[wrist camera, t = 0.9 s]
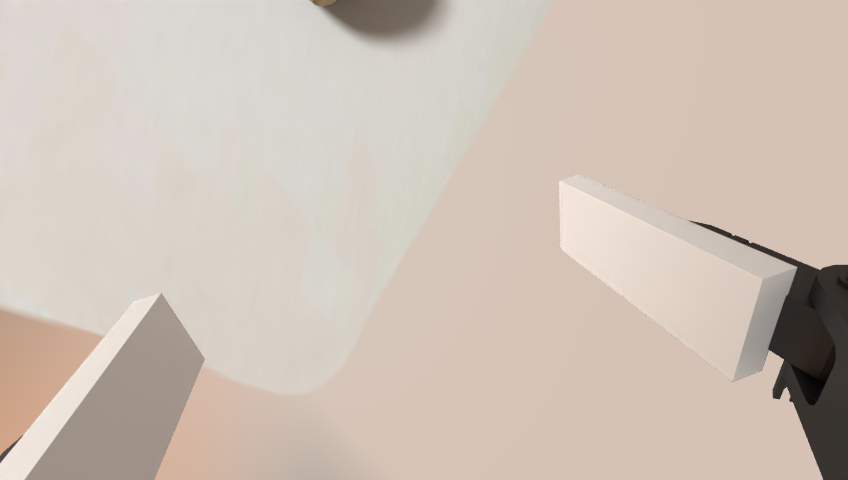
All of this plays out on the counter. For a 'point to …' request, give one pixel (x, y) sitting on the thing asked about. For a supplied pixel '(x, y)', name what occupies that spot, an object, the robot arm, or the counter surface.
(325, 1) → the speckled gray mug
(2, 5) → the counter surface
